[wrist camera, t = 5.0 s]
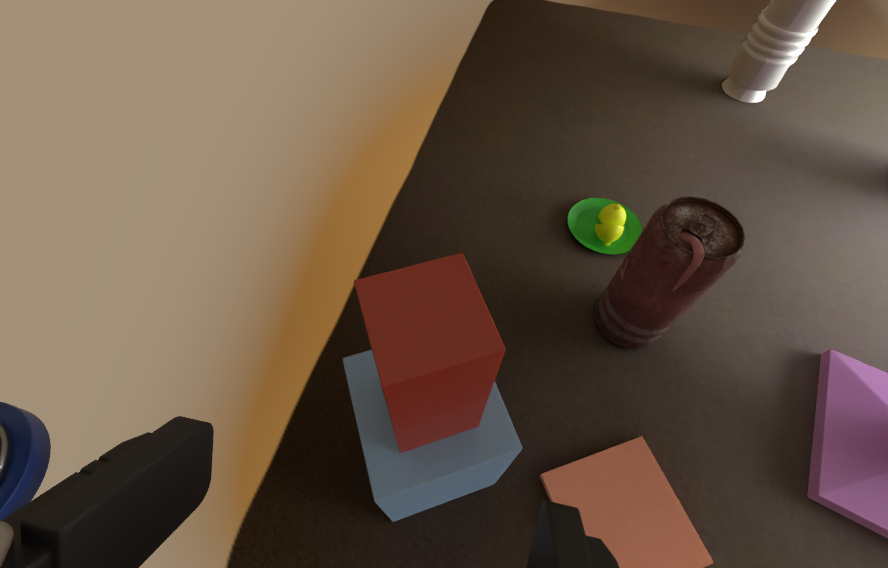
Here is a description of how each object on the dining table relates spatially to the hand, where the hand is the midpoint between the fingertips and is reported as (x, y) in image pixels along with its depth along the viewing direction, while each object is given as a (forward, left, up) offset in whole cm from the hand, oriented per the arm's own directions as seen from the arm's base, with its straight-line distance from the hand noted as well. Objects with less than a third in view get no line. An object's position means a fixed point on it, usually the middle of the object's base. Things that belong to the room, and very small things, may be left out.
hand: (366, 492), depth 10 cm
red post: (+3, +5, -12) cm, 14 cm away
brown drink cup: (+24, +10, -25) cm, 36 cm away
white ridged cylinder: (+61, +38, -25) cm, 76 cm away
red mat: (+15, -4, -24) cm, 29 cm away
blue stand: (+3, +5, -24) cm, 25 cm away
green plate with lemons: (+28, +21, -25) cm, 43 cm away
